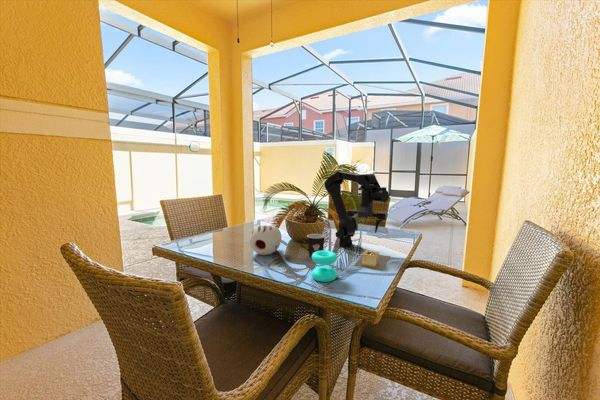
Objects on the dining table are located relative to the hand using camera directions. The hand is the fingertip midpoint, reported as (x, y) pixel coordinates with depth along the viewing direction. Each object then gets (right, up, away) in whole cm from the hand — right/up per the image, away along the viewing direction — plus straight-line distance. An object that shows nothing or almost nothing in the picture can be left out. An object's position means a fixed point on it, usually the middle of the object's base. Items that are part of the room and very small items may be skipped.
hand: (366, 231), depth 135 cm
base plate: (+1, -13, -10) cm, 17 cm away
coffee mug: (-26, -12, +2) cm, 29 cm away
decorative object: (-49, -12, +6) cm, 51 cm away
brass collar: (-2, -12, -15) cm, 19 cm away
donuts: (-23, -16, -25) cm, 37 cm away
